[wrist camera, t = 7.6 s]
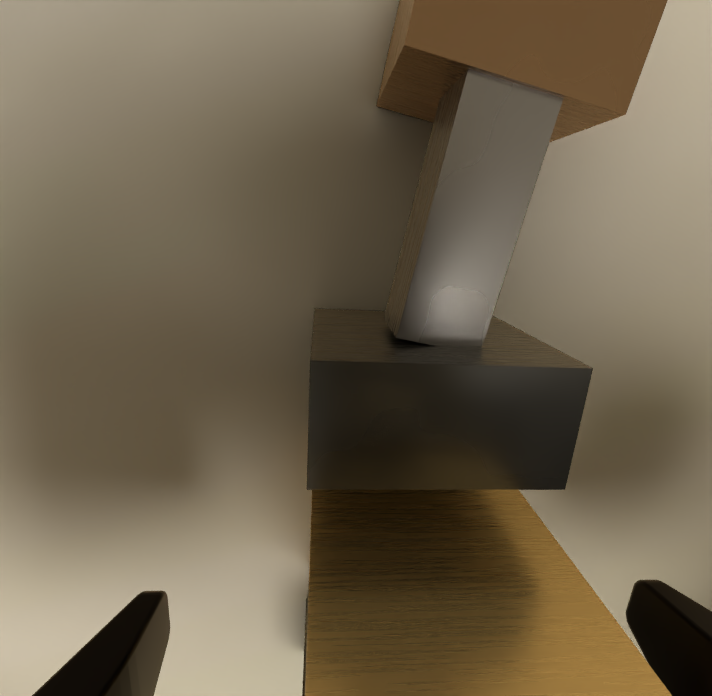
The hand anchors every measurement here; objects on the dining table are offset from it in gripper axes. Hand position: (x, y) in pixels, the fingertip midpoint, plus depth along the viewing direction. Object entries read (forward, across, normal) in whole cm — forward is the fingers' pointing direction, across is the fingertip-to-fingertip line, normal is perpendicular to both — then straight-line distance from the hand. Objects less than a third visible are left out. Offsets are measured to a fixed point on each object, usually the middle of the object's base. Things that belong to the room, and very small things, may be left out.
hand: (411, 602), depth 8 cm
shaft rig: (+3, 0, 0) cm, 3 cm away
